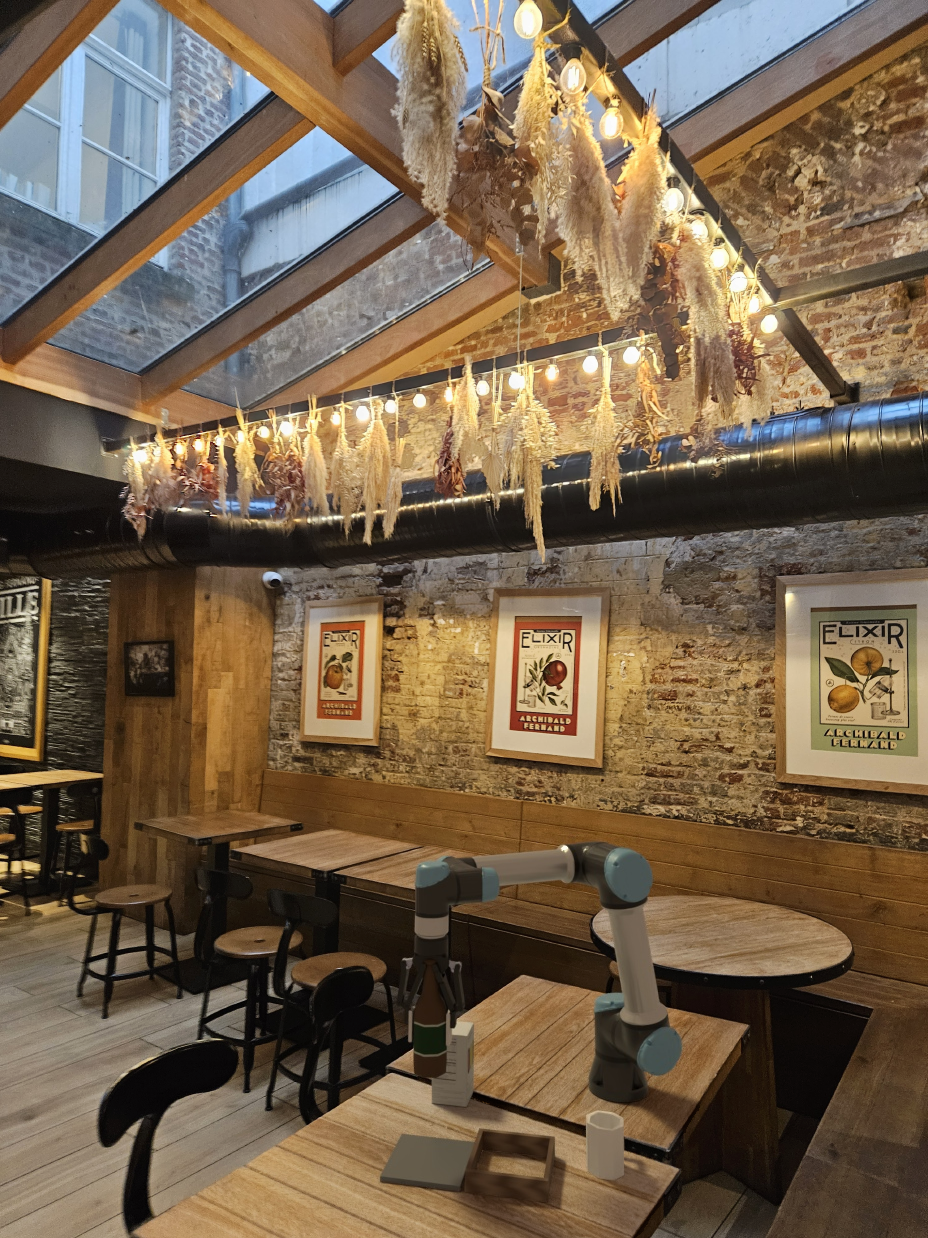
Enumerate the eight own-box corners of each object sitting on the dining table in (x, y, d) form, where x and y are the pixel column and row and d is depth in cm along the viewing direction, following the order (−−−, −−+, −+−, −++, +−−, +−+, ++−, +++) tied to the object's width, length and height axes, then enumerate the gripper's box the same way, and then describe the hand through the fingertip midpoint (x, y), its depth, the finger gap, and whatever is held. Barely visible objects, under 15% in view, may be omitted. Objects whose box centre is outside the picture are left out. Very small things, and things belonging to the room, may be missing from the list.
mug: (617, 1185, 167) (616, 1134, 168) (578, 1171, 171) (578, 1123, 172) (637, 1157, 177) (636, 1110, 178) (600, 1146, 182) (600, 1100, 183)
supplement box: (467, 1108, 198) (467, 1036, 200) (430, 1104, 200) (431, 1033, 202) (474, 1090, 207) (474, 1021, 209) (439, 1086, 209) (440, 1018, 211)
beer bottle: (420, 1082, 171) (422, 964, 173) (406, 1067, 178) (408, 954, 180) (453, 1074, 174) (454, 960, 177) (438, 1060, 181) (439, 950, 184)
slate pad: (474, 1146, 181) (474, 1142, 181) (459, 1191, 164) (459, 1186, 164) (401, 1138, 184) (401, 1133, 184) (379, 1181, 167) (380, 1176, 167)
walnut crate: (554, 1156, 177) (554, 1136, 178) (548, 1202, 161) (548, 1181, 161) (479, 1147, 181) (479, 1128, 181) (464, 1192, 164) (464, 1171, 164)
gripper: (479, 932, 181) (479, 1038, 178) (391, 926, 185) (389, 1030, 182) (473, 942, 173) (473, 1053, 171) (382, 935, 177) (380, 1044, 175)
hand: (430, 1041), depth 177 cm, fingers closed on beer bottle, 8 cm apart
